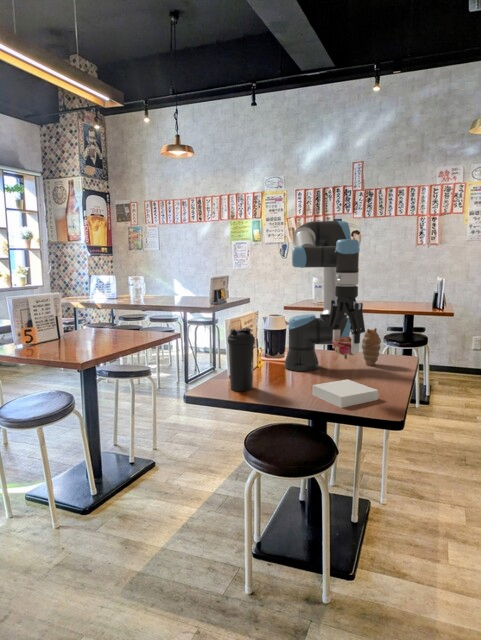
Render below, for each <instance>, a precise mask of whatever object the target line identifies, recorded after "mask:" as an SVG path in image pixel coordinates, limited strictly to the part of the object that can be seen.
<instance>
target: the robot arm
mask: <svg viewBox="0 0 481 640" xmlns="http://www.w3.org/2000/svg"><path fill="white" fill-rule="evenodd" d="M350 228H351V227H350V225H349V223H348V222H347V221H345V220H321V221H320V220H319V221H317V220H314V221H313V220H312V221H309V222H305V223H303V224H301V225H300V226H298V227H297V228H296V229H295V231H294V232H293V234H292V242H293V245H294V246H293V247H292V251H291V255H292V256H291V257H292V258H291V263H292V264H291V265H292V267H293V268H300V269H304V268H307V269H309V268H323V310H322V311H321V312H320V314H319V317H316V315H315V314H300V315H296V316H295V315H294V316H292V317H290V318H289V320H288V327H287V329H288V351H287V353H286V357H285V361H284V368H285V369H286V370H290V371H296V372H312V371H315V370H318V369H320V368H319V367H320V366H319V359H318V357H317V354H316V345H333V342H332V340H335V339H340V337H348V336H350V333H351V336H350V337H351V353H353V354H355V353H356V354H359V353H360V343H361V334H363V333H364V334H365V332H366V329H365V328H366V327H365V321H364V314H363V313H364V311H363V306H364V304H363V302H357V300H356V298H357V297H358V296H359V287H358V286H357V285H358V284H359V260H360V258H359V257H360V242H359V240H358V239H355V238H353V239H352V237H351V236H352V235H351V229H350ZM351 330H352V332H351ZM332 349H335V348H334V347H333V346H332Z"/></svg>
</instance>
